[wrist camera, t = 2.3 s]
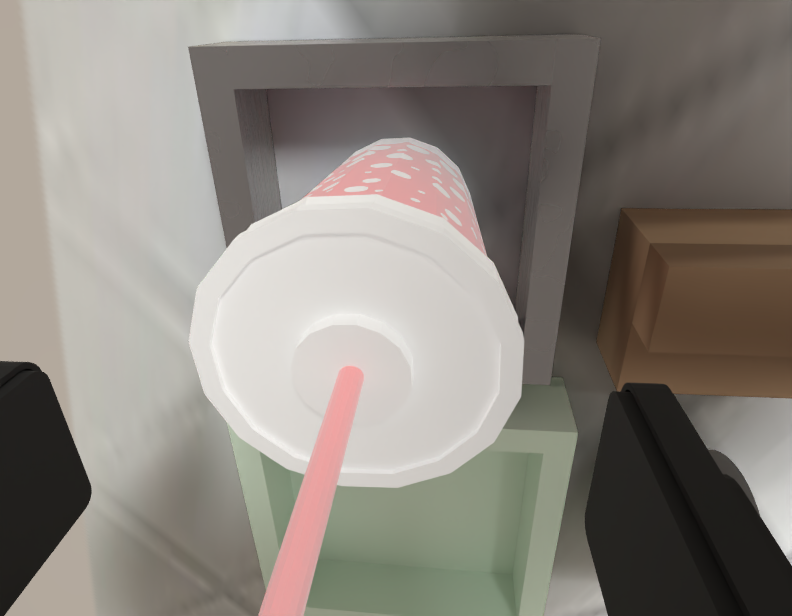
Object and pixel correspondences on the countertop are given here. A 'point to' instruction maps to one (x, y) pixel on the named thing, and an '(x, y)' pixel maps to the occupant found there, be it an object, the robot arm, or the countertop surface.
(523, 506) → the tray
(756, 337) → the block
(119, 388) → the countertop surface
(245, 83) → the socket ring
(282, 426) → the beverage cup
